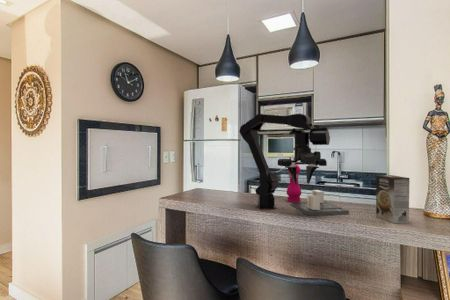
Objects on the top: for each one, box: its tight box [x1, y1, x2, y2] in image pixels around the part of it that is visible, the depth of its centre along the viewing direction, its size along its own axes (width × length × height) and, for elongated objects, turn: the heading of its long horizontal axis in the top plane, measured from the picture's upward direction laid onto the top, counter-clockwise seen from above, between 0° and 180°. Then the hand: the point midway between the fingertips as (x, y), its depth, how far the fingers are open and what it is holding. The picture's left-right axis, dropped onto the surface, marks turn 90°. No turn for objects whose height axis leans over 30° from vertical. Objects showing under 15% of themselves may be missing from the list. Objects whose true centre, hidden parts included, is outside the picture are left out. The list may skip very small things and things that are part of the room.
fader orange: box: [306, 194, 320, 210], centre depth 103 cm, size 3×5×5 cm, turn 7°
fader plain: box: [311, 189, 325, 203], centre depth 116 cm, size 3×5×5 cm, turn 7°
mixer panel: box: [289, 200, 350, 217], centre depth 109 cm, size 17×20×2 cm
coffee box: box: [375, 174, 411, 224], centre depth 93 cm, size 9×6×16 cm
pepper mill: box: [286, 165, 302, 203], centre depth 126 cm, size 7×7×20 cm
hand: (301, 183), depth 102 cm, fingers open, 5 cm apart
